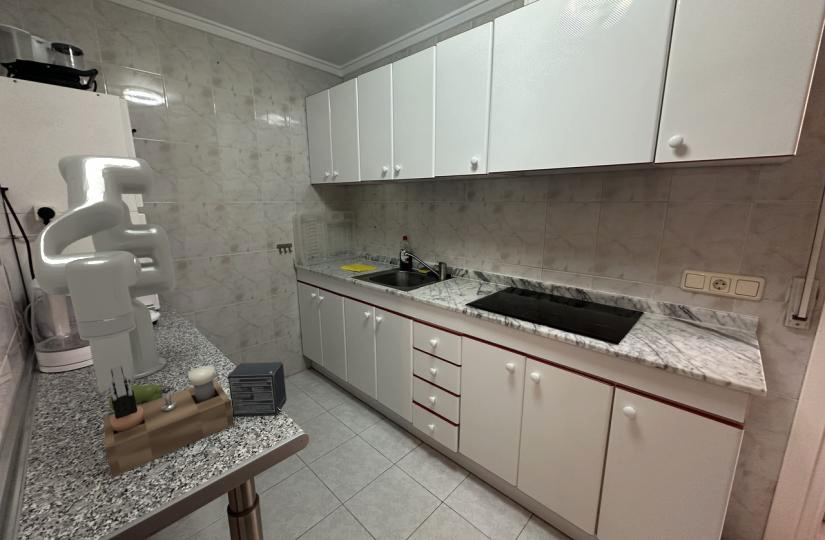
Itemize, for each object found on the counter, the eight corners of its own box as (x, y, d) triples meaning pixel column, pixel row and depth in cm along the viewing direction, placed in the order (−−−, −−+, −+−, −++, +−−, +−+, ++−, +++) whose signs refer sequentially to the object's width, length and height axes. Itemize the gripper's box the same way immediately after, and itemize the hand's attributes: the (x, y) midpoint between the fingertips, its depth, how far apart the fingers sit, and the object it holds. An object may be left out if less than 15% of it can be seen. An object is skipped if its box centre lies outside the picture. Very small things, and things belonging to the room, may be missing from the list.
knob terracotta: (117, 446, 64) (109, 413, 63) (147, 434, 67) (141, 402, 66) (118, 459, 61) (110, 425, 59) (150, 446, 64) (143, 413, 62)
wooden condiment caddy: (109, 442, 66) (103, 417, 65) (219, 401, 80) (215, 379, 78) (112, 477, 58) (105, 448, 56) (234, 424, 71) (230, 400, 70)
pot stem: (161, 408, 67) (157, 388, 66) (175, 403, 69) (172, 384, 68) (163, 413, 66) (159, 393, 65) (177, 408, 67) (174, 388, 66)
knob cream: (191, 401, 72) (186, 371, 71) (215, 392, 75) (211, 363, 74) (196, 411, 69) (191, 379, 67) (221, 401, 72) (216, 370, 71)
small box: (288, 399, 80) (284, 360, 78) (278, 416, 74) (274, 374, 72) (245, 400, 80) (240, 361, 78) (231, 417, 74) (226, 375, 72)
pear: (107, 386, 76) (160, 376, 84) (106, 408, 77) (159, 396, 84) (110, 395, 73) (165, 384, 80) (109, 418, 73) (164, 404, 81)
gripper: (79, 319, 61) (99, 405, 65) (76, 342, 51) (100, 443, 55) (131, 310, 67) (146, 390, 70) (138, 329, 56) (156, 422, 60)
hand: (126, 413), depth 62 cm, fingers closed
